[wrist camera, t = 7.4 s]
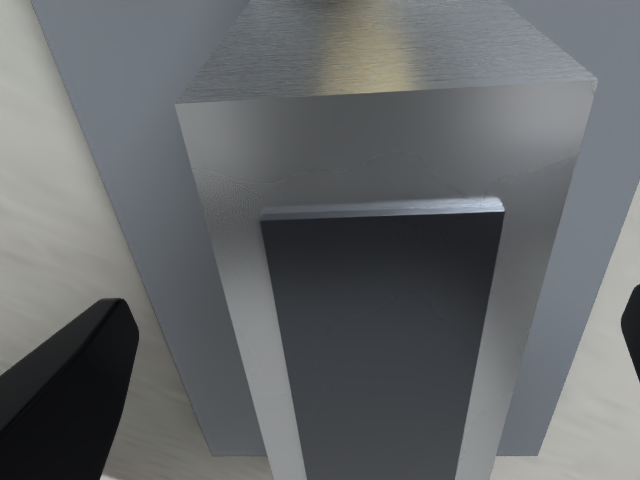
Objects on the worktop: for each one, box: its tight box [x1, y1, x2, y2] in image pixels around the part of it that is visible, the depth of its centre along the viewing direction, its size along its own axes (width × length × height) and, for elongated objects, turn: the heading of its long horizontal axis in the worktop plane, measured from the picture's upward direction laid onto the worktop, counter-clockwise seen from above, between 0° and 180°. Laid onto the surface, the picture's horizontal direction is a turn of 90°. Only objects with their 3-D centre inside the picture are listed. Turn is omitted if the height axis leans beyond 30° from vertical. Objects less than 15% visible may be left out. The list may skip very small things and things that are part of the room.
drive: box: [175, 0, 599, 480], centre depth 9 cm, size 10×3×6 cm, turn 4°
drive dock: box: [31, 0, 640, 456], centre depth 10 cm, size 22×12×5 cm, turn 4°
